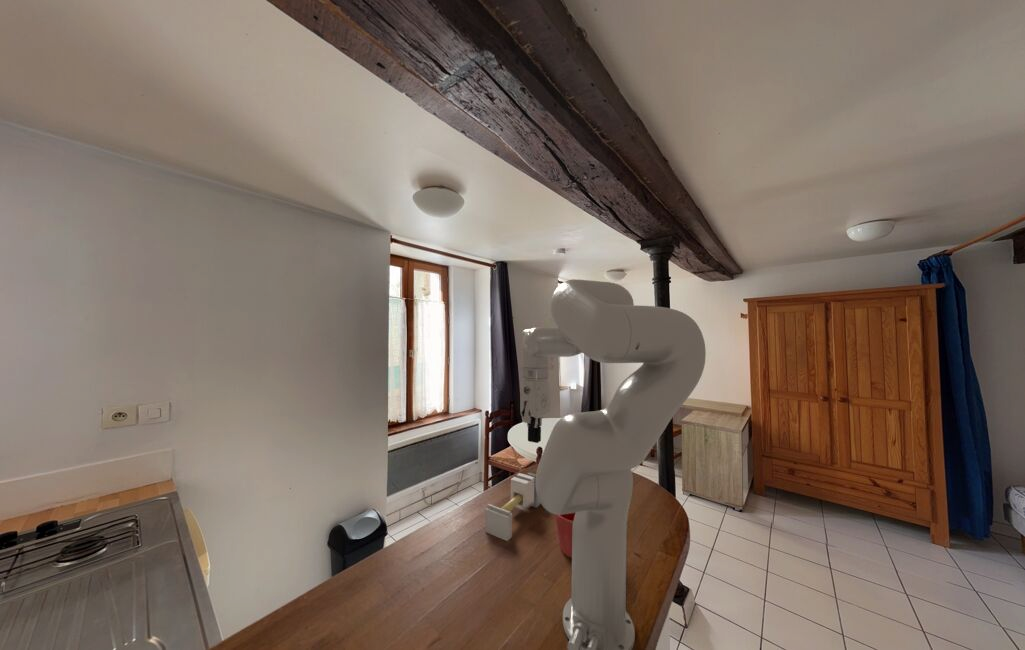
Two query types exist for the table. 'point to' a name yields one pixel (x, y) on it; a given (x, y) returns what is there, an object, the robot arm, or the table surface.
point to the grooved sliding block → (523, 490)
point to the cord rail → (505, 515)
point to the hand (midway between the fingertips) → (534, 441)
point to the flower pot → (565, 532)
